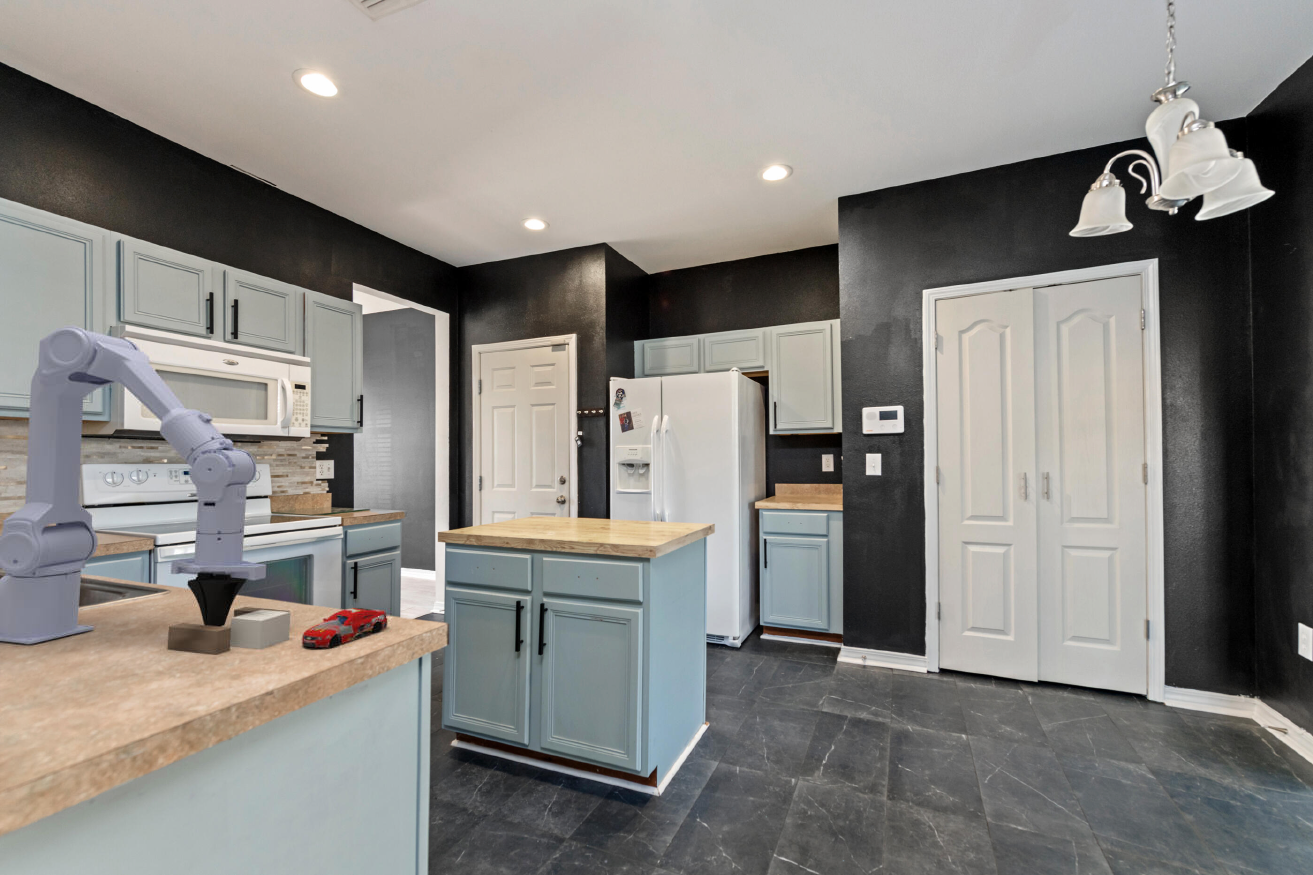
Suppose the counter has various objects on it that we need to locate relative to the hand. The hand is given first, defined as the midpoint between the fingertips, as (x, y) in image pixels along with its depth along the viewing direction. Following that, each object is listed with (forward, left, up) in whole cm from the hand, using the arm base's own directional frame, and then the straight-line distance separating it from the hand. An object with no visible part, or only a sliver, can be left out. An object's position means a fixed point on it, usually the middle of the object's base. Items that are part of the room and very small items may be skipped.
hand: (214, 626), depth 88 cm
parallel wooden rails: (+3, 0, -2) cm, 3 cm away
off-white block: (+8, 0, -2) cm, 8 cm away
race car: (+17, +6, -2) cm, 18 cm away
